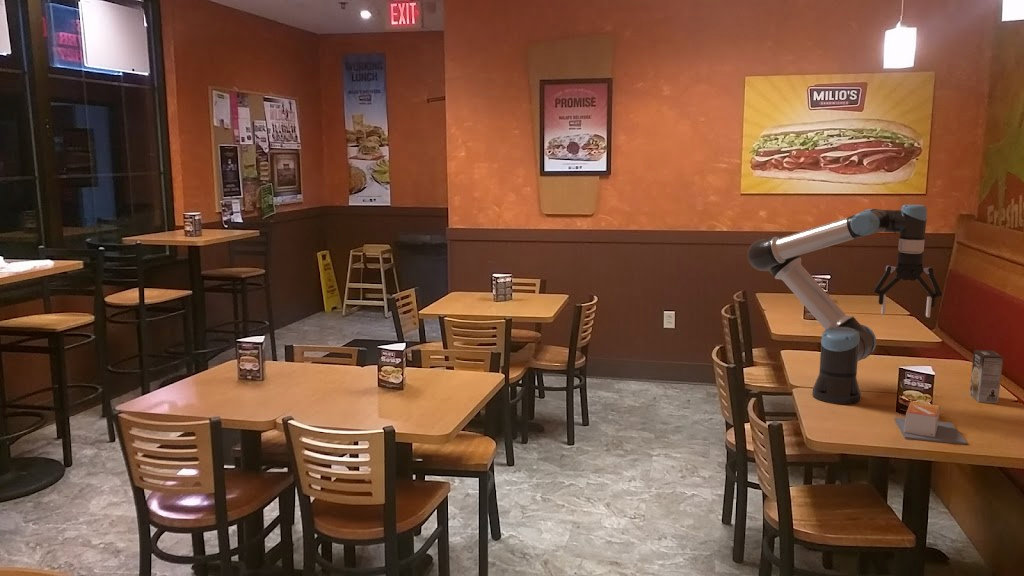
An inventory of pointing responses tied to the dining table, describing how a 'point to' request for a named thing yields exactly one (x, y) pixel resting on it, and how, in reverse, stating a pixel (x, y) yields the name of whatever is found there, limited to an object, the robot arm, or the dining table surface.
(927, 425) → the small box
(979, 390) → the coffee box
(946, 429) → the slate mat
